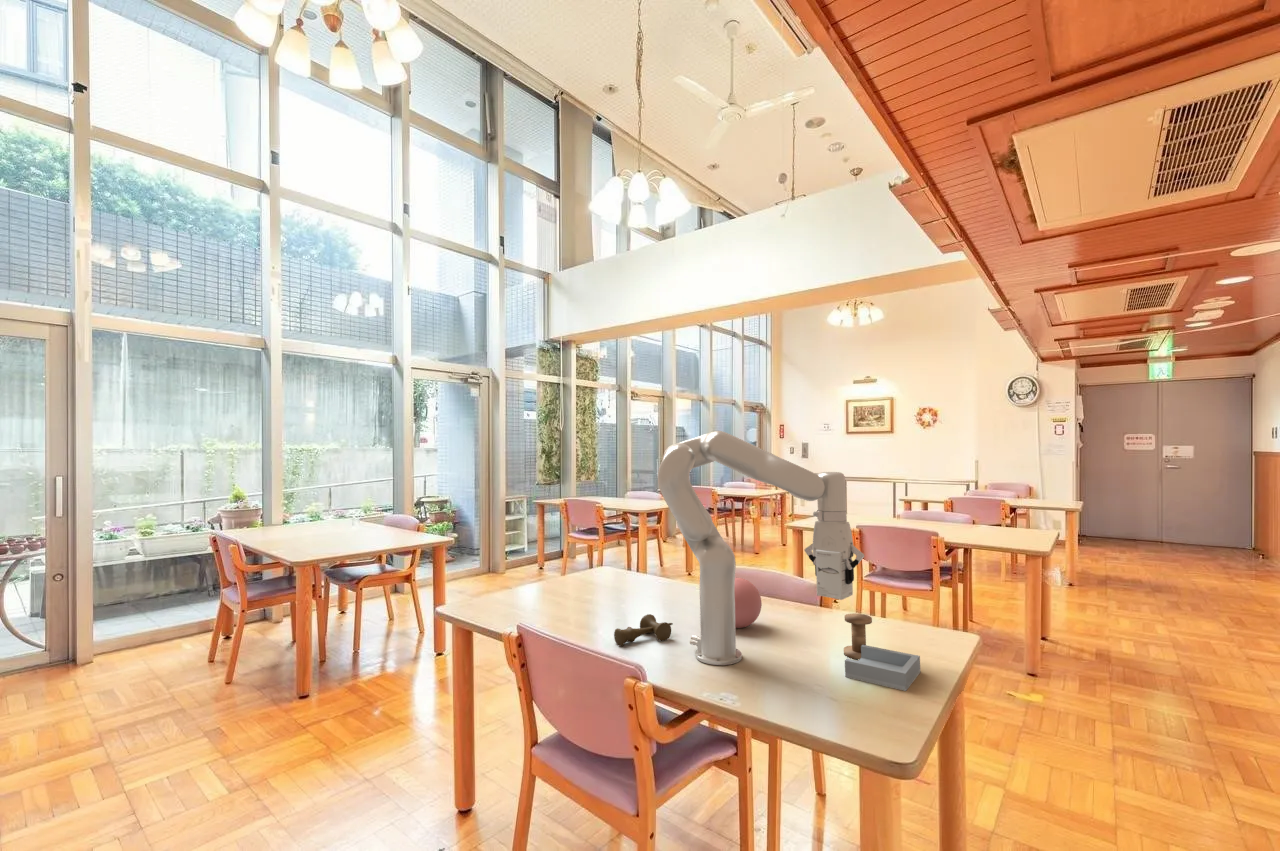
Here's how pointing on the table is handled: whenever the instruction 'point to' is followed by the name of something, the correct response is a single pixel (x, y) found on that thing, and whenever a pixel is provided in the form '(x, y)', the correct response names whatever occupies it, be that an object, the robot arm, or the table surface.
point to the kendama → (643, 630)
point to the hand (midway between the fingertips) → (834, 580)
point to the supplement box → (832, 575)
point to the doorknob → (857, 634)
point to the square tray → (884, 667)
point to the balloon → (746, 603)
